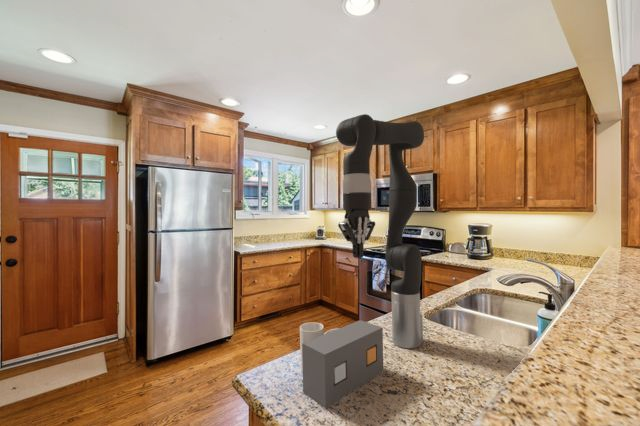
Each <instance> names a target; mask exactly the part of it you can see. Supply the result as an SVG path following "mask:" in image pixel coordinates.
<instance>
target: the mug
mask: <svg viewBox="0 0 640 426" xmlns="http://www.w3.org/2000/svg"><path fill="white" fill-rule="evenodd" d="M324 328H325V327H324V325H323V324H322V323H321V322H313V321H312V322H305V323H302V324H301V325H299V347H300V369H301V372H302V373H303V358H302V343H304V342H307V341H309V340H312V339H314V338H317V337H319V336H322V335H324V333H325V332H324Z"/></svg>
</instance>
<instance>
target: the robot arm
mask: <svg viewBox="0 0 640 426" xmlns="http://www.w3.org/2000/svg"><path fill="white" fill-rule="evenodd" d="M335 136H336V139H337V140H338V141H339V143H340V144H341V145H343V146H346V147H353V149H352V150H351V151H349V152H348V153H345V155H344V156H343V159H342V161H343V162H342V165H343V166H342V168H343V169H342V170H343V180H342V209H343V210H344V211H345V213H344V220H343V221H342V222H338V225H337V226H338V229H339V230H340V232H341V233H342V236H343V237H344V238H345V240H346V241H347V242H350V243H351V244H352V257H354V258H356V259H360V258H363V257H364V248H365V246H364V244H365V242H366V241H369V239H371V238H370V237H371V235H372V232H373V231H374V228H375V226H376V222H375V221H372V220H371V218H370V217H371V216H370V214H369V210H371V209H372V182H371V181H372V180H371V169H370V168H371V166H370V165H371V164H370V163H371V162H370V161H371V160H370V159H371V155H372V151H373V146H386V145H388V157H389V190H388V228H387V238H386V246H385V262H386V266H387V268H388V269H390V270H394V271H401V272H403V278H401V279H397V280H394V281H392V282H391V285H390V288H391V289H390V290H391V291H390V292H391V295H390V296H391V327H392V328H391V331H392V332H391V334H392V343H393V344H394V345H395V346H397V347H400V348H404V349H416V348H419V347H420V346H422V344H423V343H424V326H423V325H424V324H423V323H424V322H423V314H422V313H421V289H420V288H421V283H422V265H423V264H422V263H423V262H422V259H423V257H422V251H421V249H420V247H419V246H418V245H416V244H410V243H403V235H404V231H405V228H406V225H407V224H408V222H409V221H410V219H411V217H412V216H413V214H414V212H415V210H416V207H417V203H418V199H417V198H418V187H417V184H416V182H415V179H414V178H413V177H412V175H411V173H410V172H409V171H408V169H407V168H406V165H405V163H404V159H403V158H404V157H403V151H406V150H407V151H408V150H412V149H417V148H419V147H421V146H422V145H423V143H424V140H425V132H424V128H423V125H422V124H421V123H420V121H417V120H416V121H415V120H411V121H406V122H391V121H390V122H389V121H384V120H377V119H373V117H371V115H369V114H365V113H364V114H360V115H357V116H353V117H351V118H350V117H349V118H347V119H344V120H342V121H341V122H339V124H338V125H337V126H336V129H335Z"/></svg>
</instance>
